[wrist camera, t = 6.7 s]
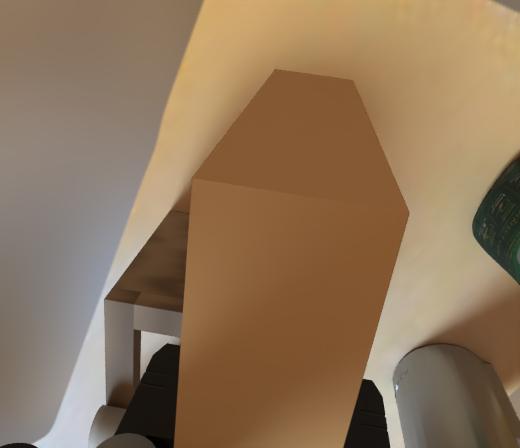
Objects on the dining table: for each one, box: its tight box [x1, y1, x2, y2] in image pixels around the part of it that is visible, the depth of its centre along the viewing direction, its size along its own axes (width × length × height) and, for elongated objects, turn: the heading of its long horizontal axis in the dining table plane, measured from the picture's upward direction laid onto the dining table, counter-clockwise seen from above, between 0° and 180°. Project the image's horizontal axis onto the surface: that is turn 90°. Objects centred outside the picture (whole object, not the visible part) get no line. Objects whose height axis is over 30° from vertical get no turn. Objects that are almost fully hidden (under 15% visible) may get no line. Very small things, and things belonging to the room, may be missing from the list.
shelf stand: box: [88, 211, 190, 448], centre depth 40 cm, size 10×20×18 cm, turn 173°
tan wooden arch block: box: [174, 69, 409, 448], centre depth 15 cm, size 3×13×13 cm, turn 173°
